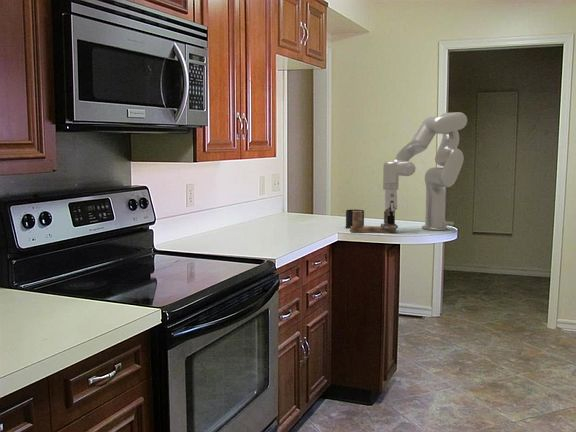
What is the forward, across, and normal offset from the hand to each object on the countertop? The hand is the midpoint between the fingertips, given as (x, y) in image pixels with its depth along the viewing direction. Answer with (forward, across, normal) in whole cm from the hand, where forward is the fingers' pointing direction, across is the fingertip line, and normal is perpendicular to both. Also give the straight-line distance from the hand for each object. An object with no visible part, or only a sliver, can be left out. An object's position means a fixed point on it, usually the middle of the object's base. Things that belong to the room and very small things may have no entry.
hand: (389, 222), depth 310 cm
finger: (+1, 0, 0) cm, 1 cm away
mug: (+5, +16, +15) cm, 22 cm away
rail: (+5, 0, +8) cm, 10 cm away
